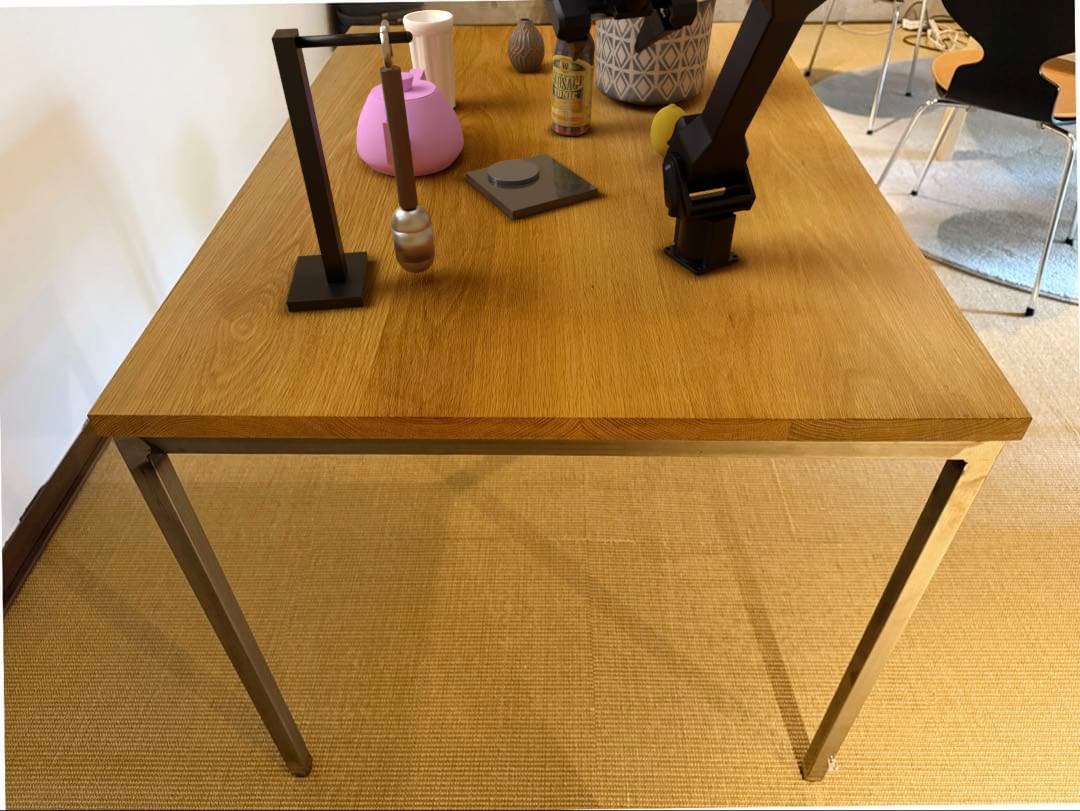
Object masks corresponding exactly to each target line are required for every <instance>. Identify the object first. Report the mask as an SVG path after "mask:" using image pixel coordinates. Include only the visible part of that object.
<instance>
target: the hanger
mask: <svg viewBox="0 0 1080 811" xmlns="http://www.w3.org/2000/svg"><path fill="white" fill-rule="evenodd" d="M388 38H389V44H392V45H395V44H409V43H410V42H411V41H412V40H413V35H412V33H411V32H409V31H406V30H397V31H390V32H388ZM271 44H272V48H273V50H274V51H273V52H274V56H275V61H276V65H277V69H278V73H279V78H280V82H281V86H282V91H283V96H284V99H285V100H284V101H285V104H286V108H287V113H288V117H289V121H290V127H291V131H292V134H293V139H294V144H295V148H296V152H297V157H298V160H299V166H300V170H301V174H302V179H303V181H304V188H305V192H306V195H307V200H308V204H309V209H310V212H311V213H310V214H311V218H312V221H313V226H314V231H315V235H316V239H317V243H318V248H319V253H320V254H311V255H298V256H297V259H296V262H295V267H294V271H293V275H292V278H291V283H290V287H289V290H288V294H287V299H286V306H287V310H288V312H299V311H311V310H324V309H325V310H327V309H339V308H352V307H353V308H354V307H363V306H364V304H365V303H364V302H365V296H366V285H367V277H368V276H367V275H368V267H369V255H368V251H353V252H352V251H351V252H345V249H344V245H343V244H344V243H343V240H342V235H341V231H340V225H339V220H338V216H337V211H336V206H335V202H334V196H333V192H332V191H333V190H332V186H331V181H330V177H329V171H328V167H327V163H326V158H325V153H324V148H323V143H322V139H321V134H320V128H319V123H318V118H317V114H316V109H315V105H314V104H315V103H314V100H313V95H312V91H311V85H310V80H309V76H308V71H307V65H306V61H305V56H304V52H303V49H313V48H317V49H318V48H333V47H336V48H337V47H354V46H374V45H382V44H381V37H380V31H379V32H360V33H359V32H358V33H355V32H354V33H338V34H337V33H336V34H335V33H334V34H318V35H314V34H313V35H300V32H299V29H298V28H297V27H295V28H294V27H293V28H276V29H275V31H274V32H273V34H272V37H271Z"/></svg>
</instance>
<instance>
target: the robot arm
mask: <svg viewBox="0 0 1080 811" xmlns="http://www.w3.org/2000/svg"><path fill="white" fill-rule="evenodd" d="M827 1H828V0H751V1H750V3H749V6H748V8H747V11H746V13H745V15H744V17H743V19H742V22H741V23H740V27H739V29H738V31H737V33H736V35H735V38H734V40H733V42H732V44H731V46H730V48H729V51H728V54H727V56H726V58H725V60H724V63H723V65H722V67H721V69H720V71H719V74H718V76H717V78H716V81H715V83H714V85H713V87H712V90H711V91H710V94H709V96H708V99H707V100H706V103H705V105H704V108H703V110H702V112H698V113H693V114H687V115H685V116H681V117H680V118H679V119H678V121H677V122H676V124H675V128H674V131H673V134H672V136H671V138H670V139H669V140H668V141H667V145H669V148H668V150H667V152H666V156H665V158H664V157H663V161H662V165H661V168H662V170H661V171H662V182H663V183H662V184H663V197H664V198H663V200H664V205H665V207H666V208H667V216H669V217H670V218H673V219H675V225H674V234H673V243H674V244H671V245H667V246H665V247H663V253H664V254H665V255H667V256H668V257H670V259H672V260H674V261H675V262H677V263H678V264H679V265H680V266H682V267H684V268H685V269H686V270H688V271H690V272H691V273H693V274H694V275H702V274H705V273H708V272H711V271H714V270H716V269H719V268H723V267H725V266H728V265H731V264H734V263H738V262H739V261H740V255H738V254H737V253H735V252H734V251H732V244H733V238H734V232H735V226H736V220H737V214H736V213H738V212H743V211H745V212H748V211H751V210H752V208H753V205H754V204H755V201H756V199H757V194H756V191H755V186H754V184H753V179H752V177H751V173H750V169H749V166H748V159H749V157H750V154H751V153H750V149H749V144H748V140H747V136H746V133H747V131H748V129H749V127H750V125H751V123H752V122H753V120H754V117H755V116H756V114H757V112H758V110H759V108H760V106H761V105H762V103H763V100H764V99H765V97H766V96H767V93H768V91H769V89H770V87H771V85H772V83H773V82H774V80H775V78H776V76H777V74H778V73H779V70H780V68H781V67H782V65H783V63H784V61H785V59H786V57H787V55H788V54H789V51H790V50H791V48H792V46H793V44H794V43H795V40H796V39H797V37H798V34H799V32H800V30H801V29H802V27H803V25H804V23H805V22H806V20H807V18H808V17H809V16H810V15H811V14H812V13H813V12H814V11H815V10H817V9H818V8H819V7H821V6H822V5H823V4H824V3H825V2H827ZM544 6H545V9H546V12H547V14H548V18H549V21H550V23H551V26H552V29H553V32H554V35H555V38H556V39H557V38H558V39H560V40H561V41H565V42H567V43H569V45H570V53H571V57H572V60H573V62H574V61H576V60H577V59H578V58H579V57H580V55H581V53H582V51H583V49H584V47H585V46H586V44H587V42H588V40H589V38H588V36H587V34H589V32H590V33H591V28H592V22H596V21H597V20H606V19H614V20H622V19H631V18H639V17H645V19H644V21H643V24H642V26H641V29H640V31H639V34H638V36H637V39H636V42H635V46H634V48H635V51H636V53H640V52H642V51H643V50H645V49H646V48H648V47H650V46H651V45H653V44H654V43H656V42H657V41H659V40H661V39H662V38H664V37H666V36H668V35H669V34H671V33H673V32H675V31H677V30H681V29H682V28H683V26H690V25H692V24H693V22H694V20H695V18H696V16H697V14H698V12H699V3H698V0H544ZM719 189H722V190H719ZM714 190H717V191H714ZM709 191H712V192H709ZM703 192H705V193H703ZM706 192H707V193H706ZM698 193H700V194H698ZM692 194H696V195H692Z"/></svg>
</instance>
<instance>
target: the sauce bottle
mask: <svg viewBox="0 0 1080 811" xmlns="http://www.w3.org/2000/svg"><path fill="white" fill-rule="evenodd" d="M587 36H588V38H589V40H588V42H587V44H586V46H585V47H584V49H583V51H582V53H581V55H580V57H579V58H578V59H577V60H576V61H574V62H573V60H572V57H571V53H570V45H569V43H567V42H565V41H561V40H560V39H558V38H556V41H555V47H554V51H553V57H552V58H553V60H552V63H553V64H552V83H551V84H552V86H551V88H552V89H551V114H550V115H551V116H550V118H551V121H552V122H551V127H552V131H553V132H555V133H556V134H558V135H560V136H561V135H562V136H570V137H579V136H582V135H583V134H586V133H587V132H588V131H589V130H590V123H591V122H592V108H593V91H594V77H595V76H594V75H595V53H596V42H595V40H594V38H593V35H592V34H591V31H590V32H589V34H587Z"/></svg>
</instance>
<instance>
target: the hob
mask: <svg viewBox="0 0 1080 811" xmlns="http://www.w3.org/2000/svg"><path fill="white" fill-rule="evenodd" d="M464 175H465V181H466V182H467V183H468V184H469V185H471V186H472V187H473V188H474V189H475V190H476V191H478V192H479V193H480V194H481V195H483V196H484V197H485V198H486V199H487V200H488V201H489V202H491V203H492V204H493V205H494V206H496V207H497V208H498V209H499V210H500V211H502V212H503V213H504V214H505V215H506V216H508V217H509V218H510V219H511V220H518V219H520V218H521V219H522V218H525V217H528V216H531V215H535V214H539V213H543V212H546V211H549V210H553V209H556V208H560V207H561V208H562V207H564V206H568V205H571V204H575V203H579V202H582V201H587V200H589V199H593V198H597V197H598V191H599V190H598V187H596V186H595V185H594V184H592V183H591V182H589V181H587V180H586V179H584V178H583V177H581V176H580V175H579V174H577V173H575V171H573V170H572V169H570V168H568V167H567V166H565V165H564V164H563V163H561V162H560V161H558V160H556V159H555V158H553V157H552V156H551V155H549V154H548V153H546V152H544V153H541V154H536V155H533V156H528V157H524V158H519V159H507V160H506V159H505V160H501V161H497V162H494V163H493V164H491V165H490V166H488V167H482V168H480V169H479V168H478V169H474V170H471V171H466V172H465V174H464Z"/></svg>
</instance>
